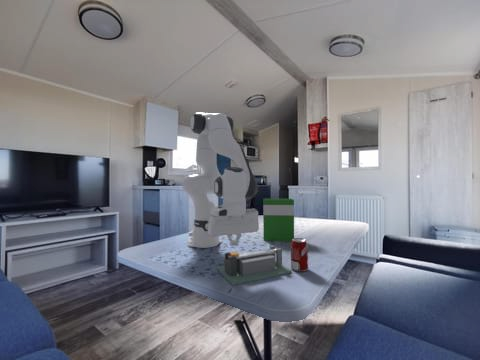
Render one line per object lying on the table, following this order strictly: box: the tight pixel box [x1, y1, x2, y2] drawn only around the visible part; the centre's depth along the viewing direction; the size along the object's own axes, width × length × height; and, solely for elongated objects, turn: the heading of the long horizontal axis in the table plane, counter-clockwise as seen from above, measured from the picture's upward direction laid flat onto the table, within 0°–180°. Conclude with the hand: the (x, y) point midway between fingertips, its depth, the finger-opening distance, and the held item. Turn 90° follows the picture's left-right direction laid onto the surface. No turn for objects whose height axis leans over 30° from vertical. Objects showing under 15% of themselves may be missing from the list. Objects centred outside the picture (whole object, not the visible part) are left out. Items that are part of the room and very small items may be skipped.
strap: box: [228, 247, 277, 259], centre depth 96 cm, size 3×22×2 cm, turn 115°
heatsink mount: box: [216, 245, 293, 286], centre depth 96 cm, size 16×25×8 cm, turn 115°
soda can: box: [290, 237, 309, 273], centre depth 97 cm, size 7×7×12 cm
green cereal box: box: [262, 198, 295, 242], centre depth 143 cm, size 18×7×24 cm, turn 83°
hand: (234, 245), depth 92 cm, fingers closed
